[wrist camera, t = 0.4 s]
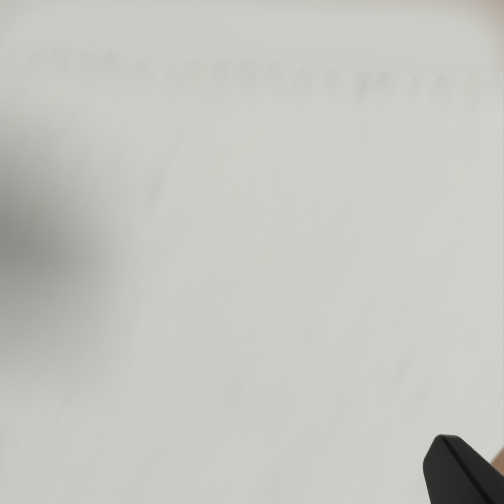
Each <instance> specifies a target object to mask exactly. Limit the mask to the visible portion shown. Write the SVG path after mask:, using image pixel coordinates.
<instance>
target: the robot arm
mask: <svg viewBox="0 0 504 504" xmlns="http://www.w3.org/2000/svg"><path fill="white" fill-rule="evenodd" d="M423 473H424V477H425V481H426V485H427V490H428V494H429V498H430V502H431V504H504V476H503V475H502V474H501V473H500V472H498V471H497V470H496V469H495V468H494V467H493V466H491V464H489V463H488V462H487V461H486V460H485V459H484V458H483V457H482V456H481V455H479V454H478V453H477V452H476V451H475V450H474V449H473V448H472V447H470V446H469V445H468V444H467V443H466V442H465V441H464V440H463V439H461V438H460V437H458V436H455V435H444V434H440V435H438V436H436V437H435V439H434V441H433V442H432V444H431V446H430V448H429V450H428V452H427V454H426V456H425V458H424V461H423Z"/></svg>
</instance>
